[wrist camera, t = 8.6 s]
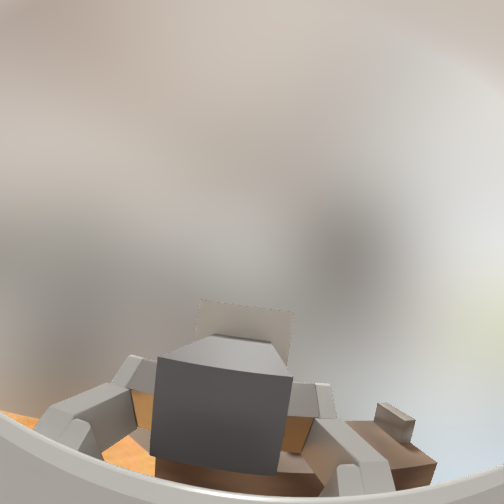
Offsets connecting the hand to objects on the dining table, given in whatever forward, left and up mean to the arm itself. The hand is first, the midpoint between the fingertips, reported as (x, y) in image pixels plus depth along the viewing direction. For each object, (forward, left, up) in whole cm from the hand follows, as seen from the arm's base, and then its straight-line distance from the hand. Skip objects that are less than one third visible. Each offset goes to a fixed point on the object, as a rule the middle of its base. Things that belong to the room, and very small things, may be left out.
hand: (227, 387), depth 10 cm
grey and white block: (0, +7, -2) cm, 7 cm away
